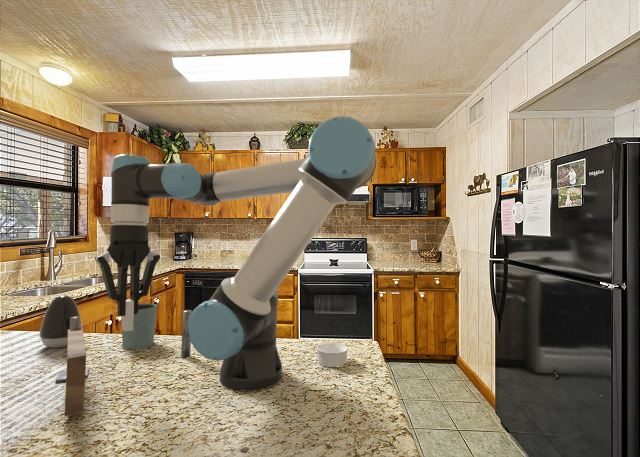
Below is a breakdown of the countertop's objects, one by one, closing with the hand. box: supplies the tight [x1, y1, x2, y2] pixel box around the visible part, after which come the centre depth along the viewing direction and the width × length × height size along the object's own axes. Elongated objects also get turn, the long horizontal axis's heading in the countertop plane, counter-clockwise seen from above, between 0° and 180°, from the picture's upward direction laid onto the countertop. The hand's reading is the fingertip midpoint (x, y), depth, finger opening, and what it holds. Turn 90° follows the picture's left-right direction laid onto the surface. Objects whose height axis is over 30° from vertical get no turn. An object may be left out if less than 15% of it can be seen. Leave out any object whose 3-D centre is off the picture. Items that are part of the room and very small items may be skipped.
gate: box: [64, 327, 87, 417], centre depth 69 cm, size 22×3×11 cm, turn 38°
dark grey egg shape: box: [39, 294, 83, 349], centre depth 100 cm, size 10×10×15 cm
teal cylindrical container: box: [120, 302, 158, 350], centre depth 103 cm, size 10×10×12 cm
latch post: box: [180, 309, 193, 359], centre depth 93 cm, size 2×2×13 cm
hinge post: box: [54, 315, 90, 384], centre depth 79 cm, size 6×6×14 cm
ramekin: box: [316, 342, 349, 368], centre depth 92 cm, size 9×9×4 cm
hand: (127, 329), depth 73 cm, fingers closed
